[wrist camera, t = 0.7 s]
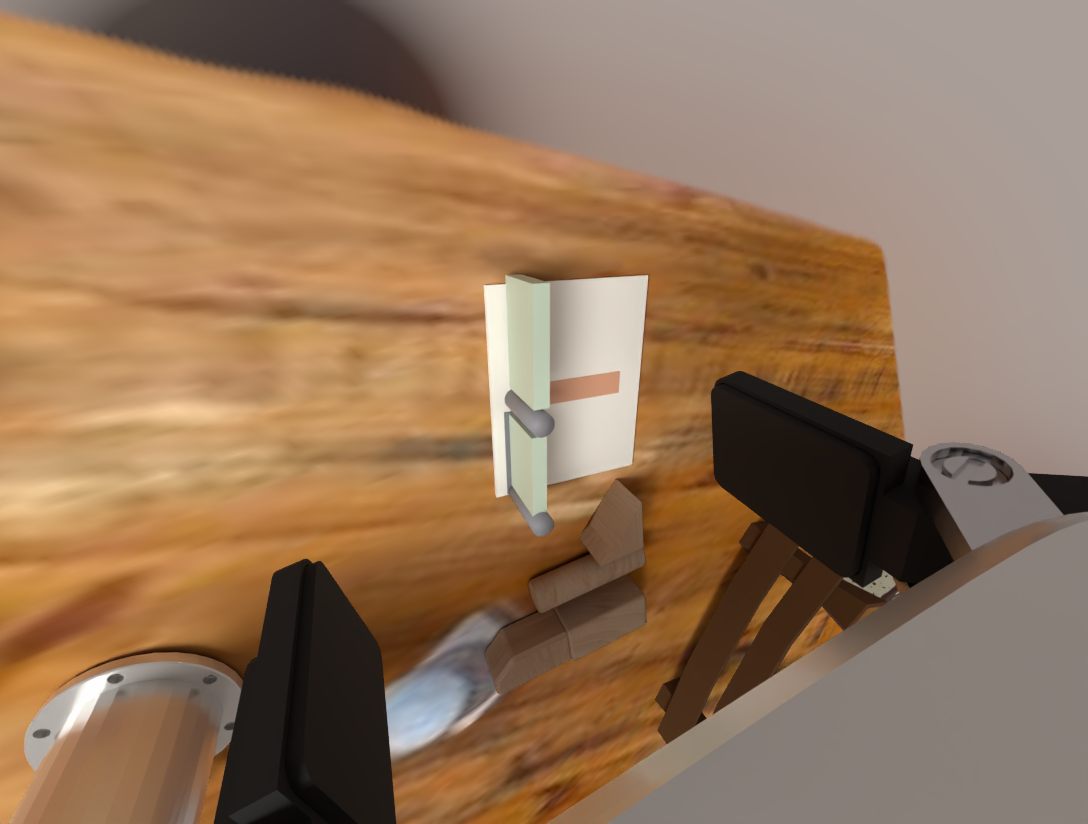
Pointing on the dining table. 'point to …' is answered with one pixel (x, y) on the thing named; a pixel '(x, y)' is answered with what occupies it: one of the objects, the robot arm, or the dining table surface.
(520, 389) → the hinged fence panel
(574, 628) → the wooden block set
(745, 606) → the decorative fence
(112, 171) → the dining table surface
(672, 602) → the dining table surface
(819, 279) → the dining table surface
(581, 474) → the card
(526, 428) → the fixed fence panel
